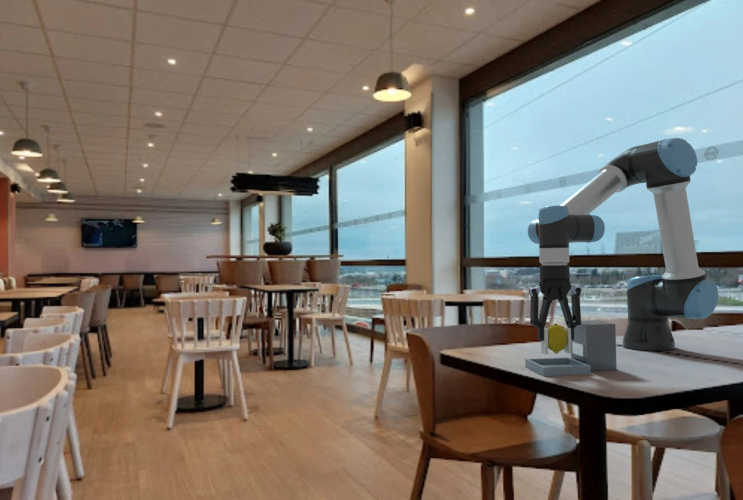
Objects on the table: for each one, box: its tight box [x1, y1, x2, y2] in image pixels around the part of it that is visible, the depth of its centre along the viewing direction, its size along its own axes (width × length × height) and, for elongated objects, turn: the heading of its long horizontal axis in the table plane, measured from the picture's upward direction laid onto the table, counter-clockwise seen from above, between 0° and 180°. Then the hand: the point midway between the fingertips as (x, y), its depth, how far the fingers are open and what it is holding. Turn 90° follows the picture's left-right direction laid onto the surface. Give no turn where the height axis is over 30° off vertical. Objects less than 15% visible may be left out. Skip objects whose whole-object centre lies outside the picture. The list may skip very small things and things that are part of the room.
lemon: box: [547, 322, 567, 355], centre depth 144 cm, size 6×6×8 cm
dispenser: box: [570, 319, 617, 372], centre depth 147 cm, size 9×9×12 cm
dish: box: [524, 357, 592, 377], centre depth 144 cm, size 12×12×2 cm
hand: (556, 352), depth 144 cm, fingers closed on lemon, 5 cm apart
